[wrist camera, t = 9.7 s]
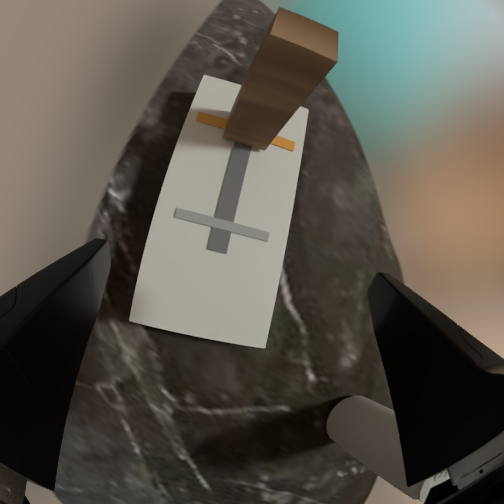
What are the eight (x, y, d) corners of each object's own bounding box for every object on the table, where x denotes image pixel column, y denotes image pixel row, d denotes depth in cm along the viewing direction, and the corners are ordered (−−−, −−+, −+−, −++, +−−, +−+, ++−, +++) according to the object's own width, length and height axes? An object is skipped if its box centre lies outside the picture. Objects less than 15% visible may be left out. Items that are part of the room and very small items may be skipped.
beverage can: (352, 442, 22) (442, 499, 10) (313, 435, 21) (405, 508, 9) (375, 398, 23) (476, 439, 11) (338, 387, 22) (447, 438, 10)
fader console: (253, 341, 20) (265, 348, 18) (133, 316, 18) (128, 321, 16) (296, 124, 23) (309, 109, 21) (199, 93, 21) (204, 73, 19)
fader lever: (264, 150, 19) (337, 62, 10) (222, 137, 18) (270, 34, 9) (271, 122, 20) (338, 32, 10) (231, 109, 19) (279, 7, 10)
